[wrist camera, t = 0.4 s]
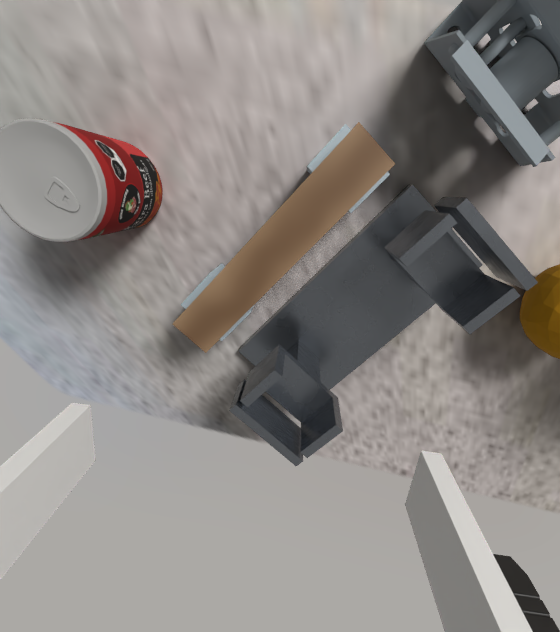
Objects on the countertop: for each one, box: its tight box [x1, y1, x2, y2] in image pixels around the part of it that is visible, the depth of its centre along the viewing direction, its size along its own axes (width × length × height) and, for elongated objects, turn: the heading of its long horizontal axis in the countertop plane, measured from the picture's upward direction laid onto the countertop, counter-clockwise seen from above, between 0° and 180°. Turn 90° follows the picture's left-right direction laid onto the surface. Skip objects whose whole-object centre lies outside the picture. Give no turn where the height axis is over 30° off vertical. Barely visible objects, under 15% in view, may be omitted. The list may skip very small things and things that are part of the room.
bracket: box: [424, 0, 560, 167], centre depth 22 cm, size 13×10×15 cm
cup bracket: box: [229, 184, 538, 466], centre depth 31 cm, size 10×23×11 cm, turn 136°
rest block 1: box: [181, 263, 254, 341], centre depth 34 cm, size 5×4×5 cm
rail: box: [173, 122, 395, 353], centre depth 27 cm, size 4×20×4 cm, turn 136°
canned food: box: [0, 118, 162, 242], centre depth 28 cm, size 8×8×11 cm
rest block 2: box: [307, 124, 390, 213], centre depth 29 cm, size 5×4×5 cm
